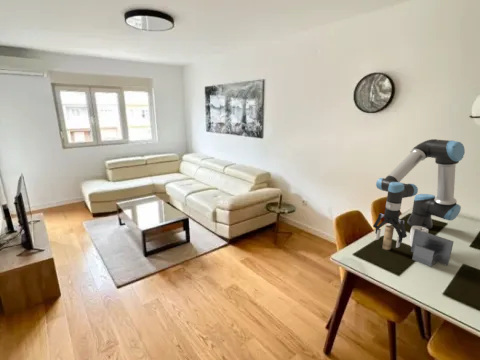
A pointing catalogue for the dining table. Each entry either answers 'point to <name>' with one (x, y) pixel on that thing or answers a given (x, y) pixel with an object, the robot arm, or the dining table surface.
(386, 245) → the wooden dowel
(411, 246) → the cup
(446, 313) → the dining table surface
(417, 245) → the bracket
